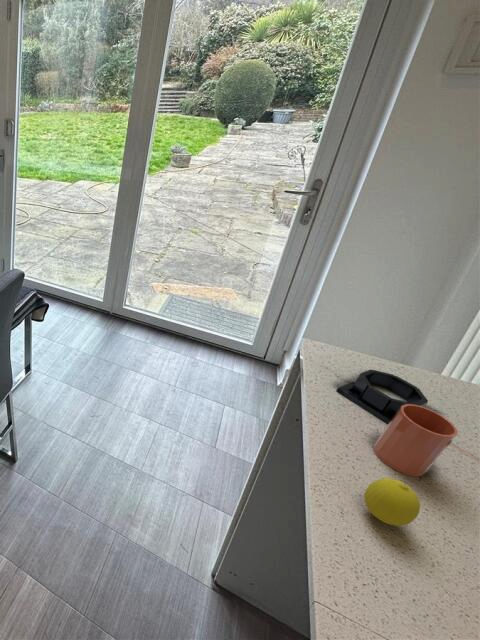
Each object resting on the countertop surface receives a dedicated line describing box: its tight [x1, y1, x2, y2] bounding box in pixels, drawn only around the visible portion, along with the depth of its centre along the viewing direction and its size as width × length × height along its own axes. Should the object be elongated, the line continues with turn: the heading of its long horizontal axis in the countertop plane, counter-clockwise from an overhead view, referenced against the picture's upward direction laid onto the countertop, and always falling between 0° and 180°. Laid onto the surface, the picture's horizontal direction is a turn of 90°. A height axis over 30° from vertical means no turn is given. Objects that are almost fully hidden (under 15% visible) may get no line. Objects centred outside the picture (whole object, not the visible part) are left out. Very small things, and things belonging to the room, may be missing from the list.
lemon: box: [363, 477, 421, 527], centre depth 62 cm, size 6×6×8 cm
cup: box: [373, 404, 458, 477], centre depth 70 cm, size 7×7×10 cm
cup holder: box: [335, 369, 429, 425], centre depth 83 cm, size 11×11×4 cm
